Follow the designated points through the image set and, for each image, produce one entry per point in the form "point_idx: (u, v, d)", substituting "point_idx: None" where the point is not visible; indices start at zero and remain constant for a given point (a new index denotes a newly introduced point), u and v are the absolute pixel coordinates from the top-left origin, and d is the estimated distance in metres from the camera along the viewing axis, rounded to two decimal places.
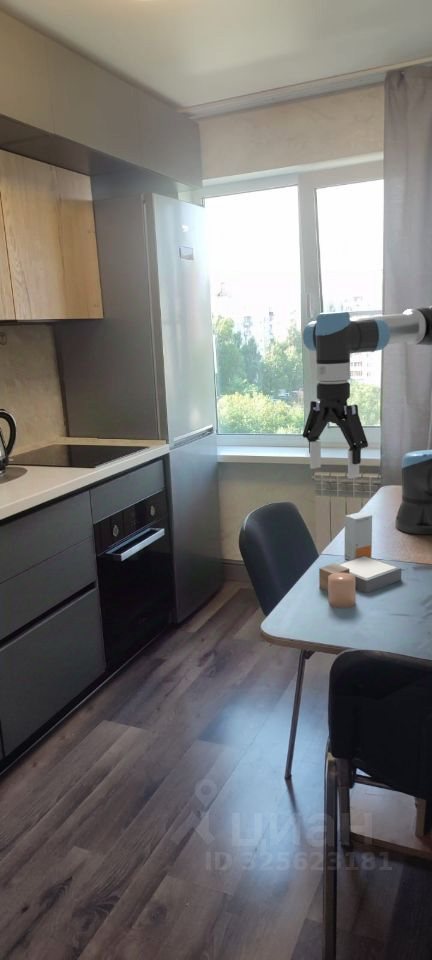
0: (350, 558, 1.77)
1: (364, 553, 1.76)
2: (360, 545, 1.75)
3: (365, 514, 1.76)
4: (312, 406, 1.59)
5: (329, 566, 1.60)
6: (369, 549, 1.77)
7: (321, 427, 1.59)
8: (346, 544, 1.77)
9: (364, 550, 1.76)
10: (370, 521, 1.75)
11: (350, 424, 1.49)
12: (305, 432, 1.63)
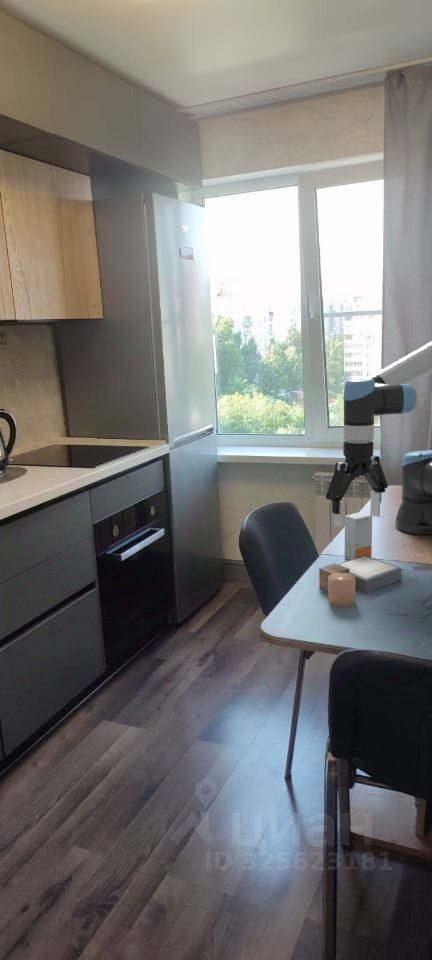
0: (350, 558, 1.77)
1: (364, 553, 1.76)
2: (360, 545, 1.75)
3: (365, 514, 1.76)
4: None
5: (329, 566, 1.60)
6: (369, 549, 1.77)
7: (369, 480, 1.76)
8: (346, 544, 1.77)
9: (364, 550, 1.76)
10: (370, 521, 1.75)
11: None
12: None
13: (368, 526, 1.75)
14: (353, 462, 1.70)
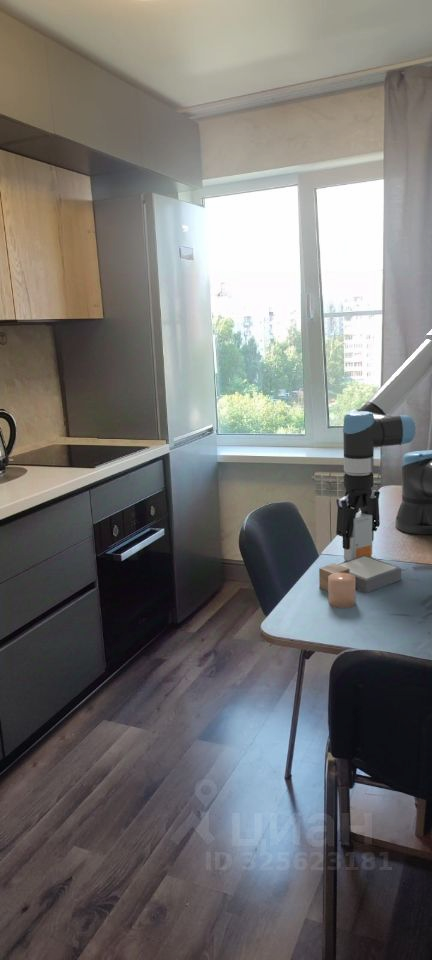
0: None
1: (364, 553, 1.76)
2: (360, 545, 1.75)
3: (365, 514, 1.76)
4: None
5: (329, 566, 1.60)
6: (369, 549, 1.77)
7: None
8: None
9: (364, 550, 1.76)
10: (370, 521, 1.75)
11: None
12: None
13: (368, 526, 1.75)
14: (353, 494, 1.72)
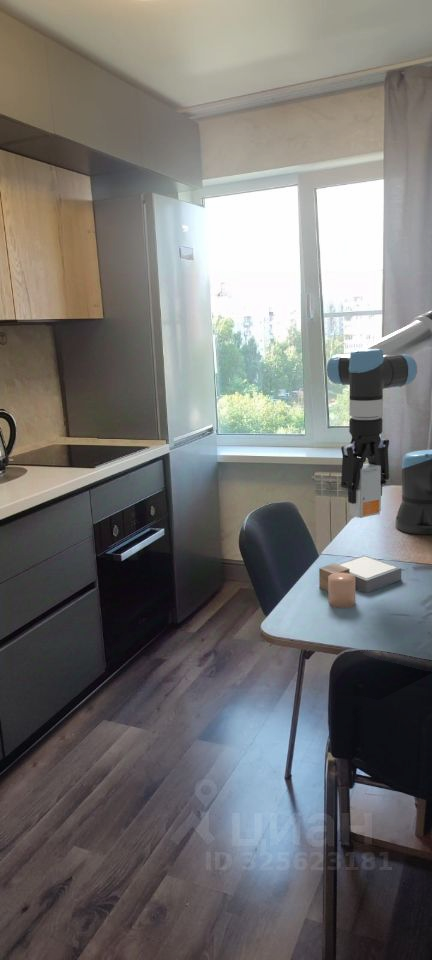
0: None
1: (372, 508, 1.59)
2: (367, 499, 1.58)
3: (372, 465, 1.58)
4: None
5: (329, 566, 1.60)
6: (377, 504, 1.60)
7: None
8: None
9: (371, 505, 1.59)
10: (379, 473, 1.58)
11: None
12: None
13: (376, 478, 1.58)
14: (359, 441, 1.54)
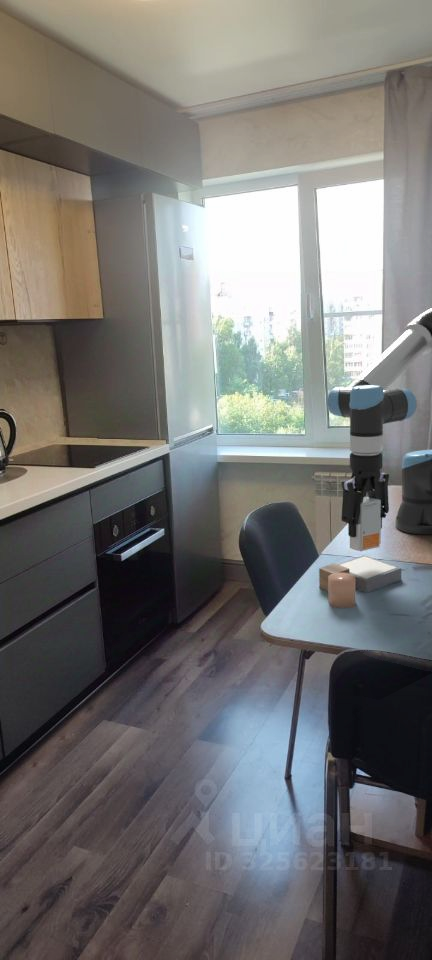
0: None
1: (372, 541, 1.61)
2: (367, 533, 1.59)
3: (372, 499, 1.60)
4: None
5: (329, 566, 1.60)
6: (377, 537, 1.61)
7: None
8: None
9: (371, 538, 1.60)
10: (379, 507, 1.60)
11: None
12: None
13: (376, 512, 1.60)
14: (360, 476, 1.56)
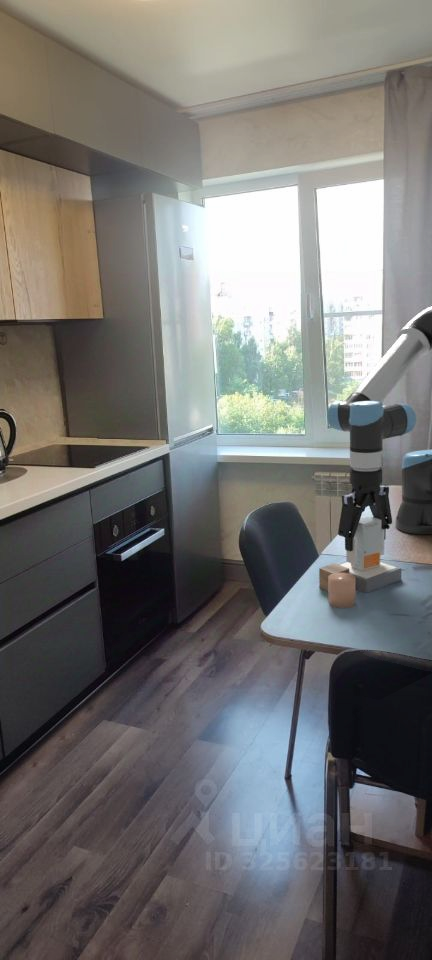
0: (357, 566, 1.62)
1: (372, 561, 1.62)
2: (368, 553, 1.61)
3: (373, 519, 1.61)
4: None
5: (329, 566, 1.60)
6: (378, 556, 1.63)
7: (374, 512, 1.63)
8: None
9: (372, 558, 1.62)
10: (380, 526, 1.61)
11: None
12: None
13: (377, 531, 1.61)
14: (360, 491, 1.57)
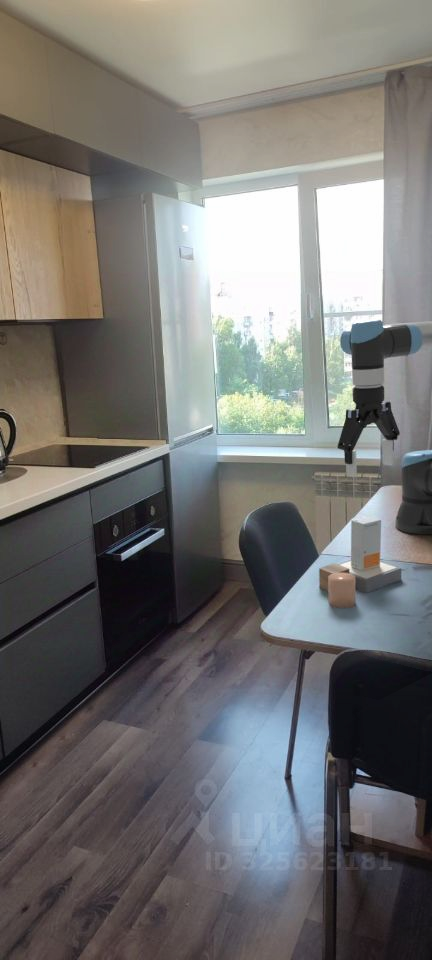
0: (357, 566, 1.62)
1: (372, 561, 1.62)
2: (368, 553, 1.61)
3: (373, 519, 1.61)
4: None
5: (329, 566, 1.60)
6: (378, 556, 1.63)
7: (380, 427, 1.68)
8: (353, 551, 1.63)
9: (372, 558, 1.62)
10: (379, 526, 1.61)
11: None
12: None
13: (377, 531, 1.61)
14: (364, 408, 1.62)
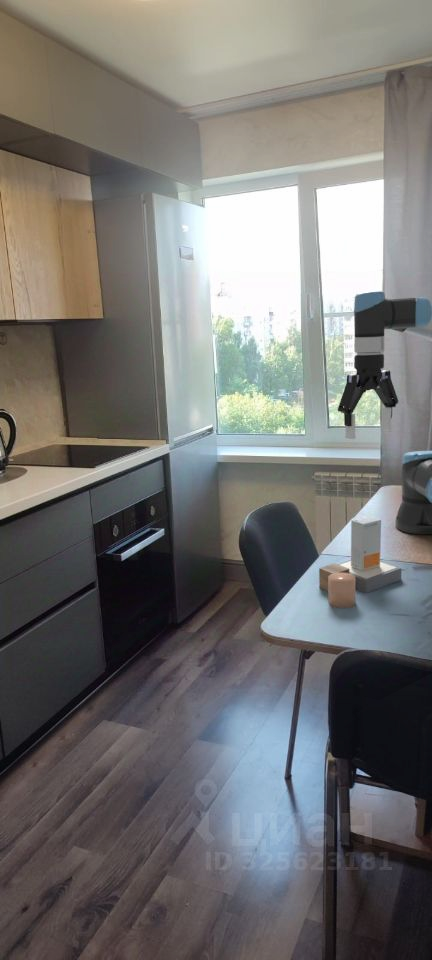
0: (357, 566, 1.62)
1: (372, 561, 1.62)
2: (368, 553, 1.61)
3: (373, 519, 1.61)
4: None
5: (329, 566, 1.60)
6: (378, 556, 1.63)
7: (380, 394, 1.79)
8: (353, 551, 1.63)
9: (372, 558, 1.62)
10: (379, 526, 1.61)
11: None
12: None
13: (377, 531, 1.61)
14: (364, 374, 1.72)
